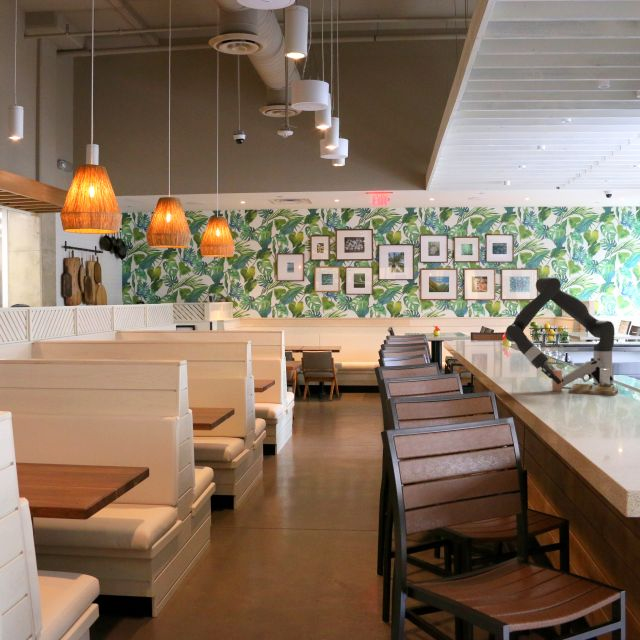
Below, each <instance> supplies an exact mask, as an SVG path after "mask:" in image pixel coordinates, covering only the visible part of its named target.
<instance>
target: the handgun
mask: <svg viewBox="0 0 640 640" xmlns="http://www.w3.org/2000/svg"><path fill="white" fill-rule="evenodd" d="M606 363H608V362H602V363H601V362H600V358H598V359H597V360H595V359H594V357H591V358H590V361H589V360H588V361H586V362H585V363H582V364H581V365H580V366H578V367H576V368H575V369H573V370H571V371H570V372H568V373H566V374H564V375H562V379H563V380H564V381H563V382H562V388H563V387H565V386H567V385H569V384H571V383H572V382H574V381H575V380H578V379H582V382H584V383H586V382H589V381H590V380H592V379H594V380H595V381H596V382H597V383H598V384H597V385H600V369H602V366H603V365H605V364H606ZM586 375H587V376H588V378H587V379H585V376H586ZM612 381H613V382H614V377H613V378H612V377H611V376H610V383H611V382H612Z"/></svg>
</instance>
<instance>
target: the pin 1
mask: <svg viewBox="0 0 640 640" xmlns="http://www.w3.org/2000/svg"><path fill="white" fill-rule="evenodd" d="M553 371H554V374H555V375H556V376H557V377H558V378H559V379H560V380H561V383H560V384H557V383H556V382H555V381H554V380H553V379H551V380H552V382H551V384H552V388H551V389H552V392H562V390H563V387H562V376H563V373H562V372H563V370H560V369H556V370H553Z"/></svg>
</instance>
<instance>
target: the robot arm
mask: <svg viewBox="0 0 640 640" xmlns="http://www.w3.org/2000/svg"><path fill="white" fill-rule="evenodd" d="M535 288H536V291H537V292H538V293H539V294H538V295H537V296H536V297H535V298H534V299H533V300H531V301H530V302H529V303H527V304H526V305H525V306H524V307H522V309H521V310H520V311H519V313H518V314H517V315H516V316H515V319H514V321H513V323H512V324H509V325H508V326H507V327H506V329H505V334H504V336H505V339H506V340H507V341H508V342H511V343H514V344H515V345H516V347H517V349H518V351H520V353H521V354H523V356H524V357H525V358H526V360H528V361H529V363H531V364H532V366H534V367H535V369H537V370H538V369H540V368H541V372H542V373H544V374H545V376H547V377H548V378H549V379H550V380H552V379H553V380H554V381H555V382H556V383H557V384H560V383H561V380H560V379H559V378H558V377H557V376H556V375H555V374H554V371H553V370H557V369H556V368H555V367H554V366H553V365H552V364H550V363H548V362H547V361H548V360H549V357H547V355H546V354H545V353H543V351H542V350H541V349H540V348H539V347H537V346H536V345H535V344H534V343H533V341H531V340H530V339H529V338H528V337H527V335H526V333H524V331H525V329H526V328H527V327H528V325H530V323H531V322H532V320H534V318H535V317H536V315H537V314H538V313H539V312H540V311H541V309H543V308H544V307H545V305H547V303H548V302H550V301H551V302H552V303H554V304H555V305H556V306H557V307H558V308H560V309H561V310H563V312H565V314H567V315H568V316H569V317H571V318H573V319H574V320H575V321H576V322H578V323H579V324H580V325H581V326H583V327H584V328H585V329H586V331H588V333H590V335H592V336H593V337H595V338H597V339H599V341H598V343H597V344H594V346H593V358H594V359H595V360H597V359H598V358H600V362H601V363H602V362H608V363H606V364H605V365H603V366H602V369H610V376H611V377H612V378H613V379H614V365H613V347H614V344H615V326H614V324H613V322H612V321H610V320H599V319H598V318H597V319H596V317H593V315H591V314H590V313H589V309H588V306H587V305H586V304H585V303H584V302H583V301H581V300H580V299H578V297H575V296H573V295H572V294H570V293H567V292H565V291H563V290H561V282H560V279H558V278H557V277H554V276H543V277H540V278H537V280H536V282H535ZM592 379H593V378H592ZM563 381H564V380H563V379H562V382H563ZM592 382H593V384H596V385H599V384H598V383H597V382H596V381H595V380H594V379H593V381H592ZM612 384H614V380H613V381H612V382H611V383H610V385H612Z"/></svg>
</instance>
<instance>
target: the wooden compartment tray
mask: <svg viewBox="0 0 640 640" xmlns="http://www.w3.org/2000/svg"><path fill="white" fill-rule="evenodd" d="M568 393H569V394H577V393H578V395H596V396H615V395H616V394H618V393H619V389H618V388H617V389H616V388H615V385H612V384H610V387H600V385H599V384H596V385H595V386H594V387H593V384H589V383H587V384H585V383H575V384H573V385H572V387H571V388H570V389H568Z"/></svg>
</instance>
